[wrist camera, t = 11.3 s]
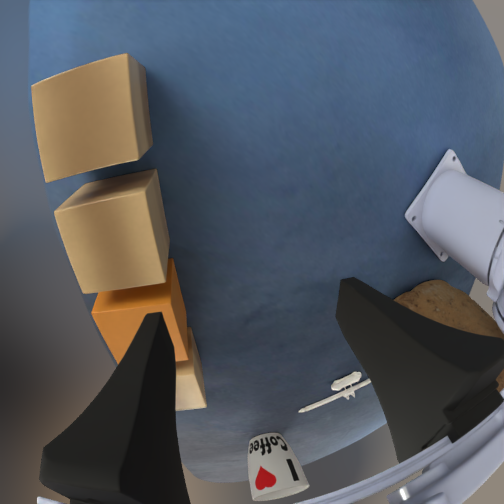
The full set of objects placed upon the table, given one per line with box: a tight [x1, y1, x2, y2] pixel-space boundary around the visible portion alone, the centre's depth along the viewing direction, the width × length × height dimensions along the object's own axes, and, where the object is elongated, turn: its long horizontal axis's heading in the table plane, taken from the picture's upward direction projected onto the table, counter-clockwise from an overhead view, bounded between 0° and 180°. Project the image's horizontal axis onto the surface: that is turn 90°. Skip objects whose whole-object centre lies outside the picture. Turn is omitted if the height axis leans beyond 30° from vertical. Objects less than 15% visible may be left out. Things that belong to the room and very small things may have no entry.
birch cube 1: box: [176, 327, 207, 411], centre depth 21 cm, size 5×5×5 cm
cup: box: [248, 433, 309, 501], centre depth 33 cm, size 8×8×10 cm
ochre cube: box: [92, 258, 189, 364], centre depth 18 cm, size 5×5×5 cm
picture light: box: [298, 372, 371, 412], centre depth 32 cm, size 14×4×2 cm, turn 108°
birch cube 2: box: [54, 169, 170, 294], centre depth 15 cm, size 5×5×5 cm
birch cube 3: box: [31, 53, 153, 183], centre depth 12 cm, size 5×5×5 cm
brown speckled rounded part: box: [394, 280, 504, 393], centre depth 20 cm, size 11×8×20 cm
